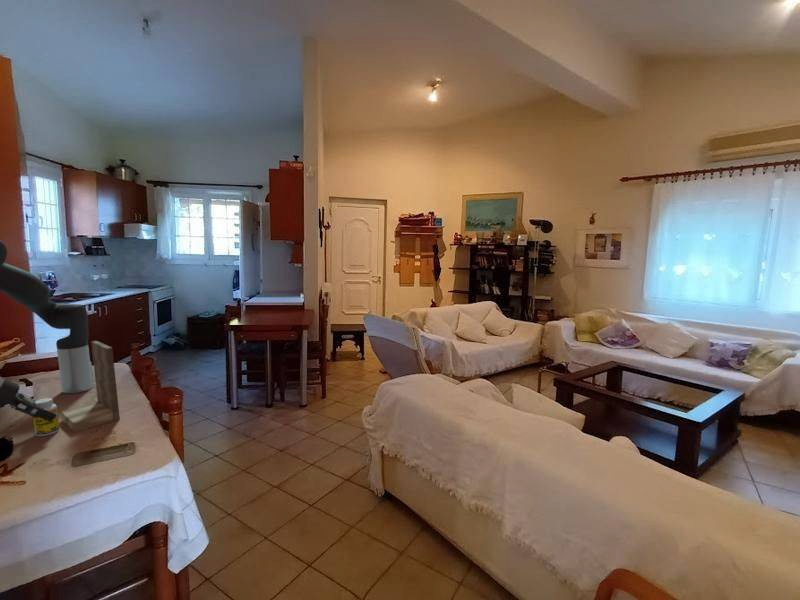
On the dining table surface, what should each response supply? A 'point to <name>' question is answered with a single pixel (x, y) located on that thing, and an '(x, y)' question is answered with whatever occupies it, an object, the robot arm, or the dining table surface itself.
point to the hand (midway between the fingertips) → (49, 414)
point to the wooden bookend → (106, 394)
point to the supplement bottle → (44, 426)
